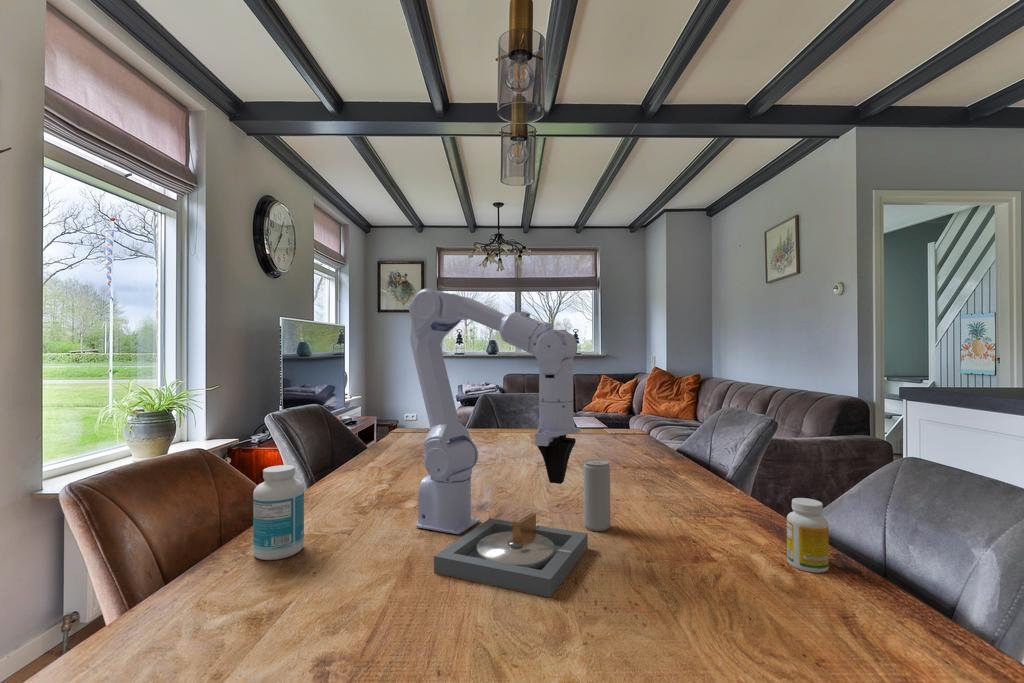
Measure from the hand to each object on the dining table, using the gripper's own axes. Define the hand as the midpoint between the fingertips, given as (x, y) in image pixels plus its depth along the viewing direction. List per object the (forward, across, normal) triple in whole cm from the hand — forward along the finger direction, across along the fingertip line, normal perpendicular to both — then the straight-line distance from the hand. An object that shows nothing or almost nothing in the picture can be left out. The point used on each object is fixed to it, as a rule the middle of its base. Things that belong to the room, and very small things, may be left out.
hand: (556, 482), depth 81 cm
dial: (+10, -8, +4) cm, 14 cm away
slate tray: (+10, -8, +4) cm, 14 cm away
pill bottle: (+11, -21, +40) cm, 46 cm away
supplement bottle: (+11, +8, -37) cm, 39 cm away
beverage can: (+11, +11, -4) cm, 16 cm away
